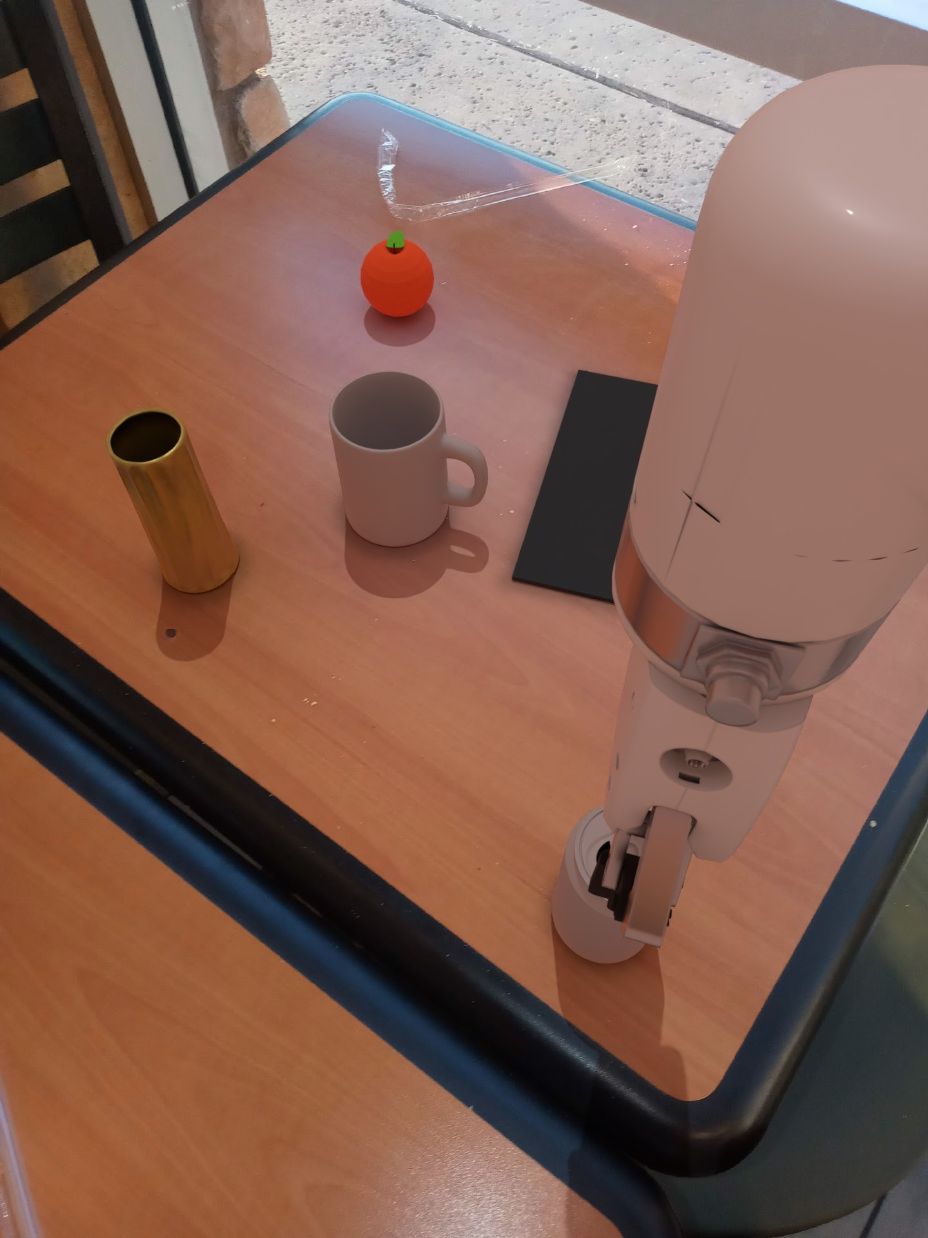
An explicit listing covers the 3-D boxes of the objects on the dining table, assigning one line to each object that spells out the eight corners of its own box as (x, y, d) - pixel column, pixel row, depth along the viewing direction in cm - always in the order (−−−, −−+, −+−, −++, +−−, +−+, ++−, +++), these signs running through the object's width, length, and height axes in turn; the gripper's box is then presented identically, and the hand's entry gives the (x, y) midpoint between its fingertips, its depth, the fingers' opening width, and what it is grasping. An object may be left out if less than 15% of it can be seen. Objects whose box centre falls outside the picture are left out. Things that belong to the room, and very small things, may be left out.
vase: (150, 589, 71) (84, 464, 59) (176, 527, 74) (118, 397, 62) (226, 599, 70) (174, 475, 58) (248, 536, 73) (204, 406, 61)
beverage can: (529, 909, 57) (541, 847, 47) (600, 843, 59) (626, 770, 49) (603, 989, 55) (632, 942, 44) (674, 917, 57) (717, 856, 47)
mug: (329, 533, 73) (308, 437, 64) (368, 457, 78) (353, 358, 68) (470, 570, 71) (469, 477, 62) (502, 491, 76) (506, 392, 66)
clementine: (368, 277, 91) (361, 212, 85) (438, 279, 90) (435, 213, 84) (360, 331, 86) (352, 267, 80) (433, 333, 86) (430, 268, 80)
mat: (717, 627, 68) (719, 624, 68) (511, 579, 71) (511, 576, 70) (754, 406, 81) (755, 403, 80) (578, 372, 83) (578, 369, 83)
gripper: (871, 897, 21) (702, 1019, 35) (898, 385, 30) (755, 650, 44) (551, 807, 22) (515, 962, 36) (670, 340, 31) (603, 613, 45)
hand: (646, 791), depth 40 cm, fingers open, 9 cm apart
